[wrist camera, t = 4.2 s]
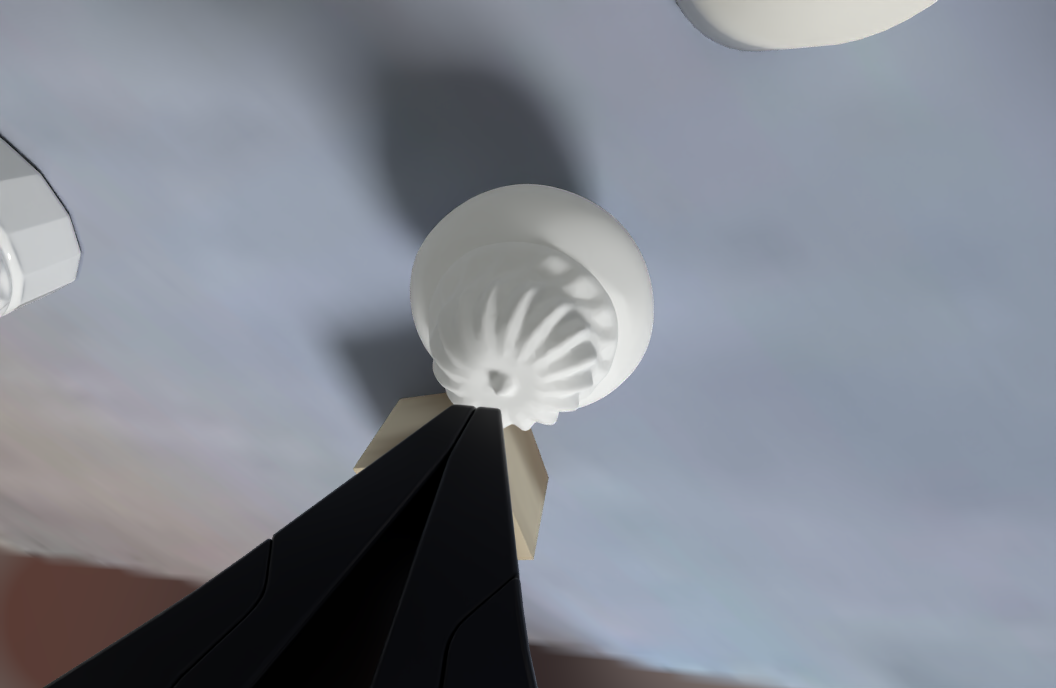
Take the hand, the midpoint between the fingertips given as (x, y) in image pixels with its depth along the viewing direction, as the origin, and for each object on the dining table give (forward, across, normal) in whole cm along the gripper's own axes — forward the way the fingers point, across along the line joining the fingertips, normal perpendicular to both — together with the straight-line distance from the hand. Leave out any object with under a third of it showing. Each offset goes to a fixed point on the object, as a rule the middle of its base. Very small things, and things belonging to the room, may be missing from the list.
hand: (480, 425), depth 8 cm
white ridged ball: (+8, 0, 0) cm, 8 cm away
